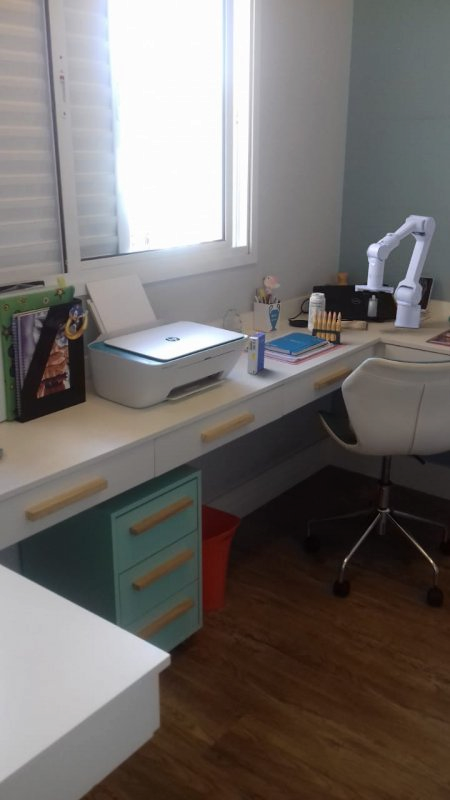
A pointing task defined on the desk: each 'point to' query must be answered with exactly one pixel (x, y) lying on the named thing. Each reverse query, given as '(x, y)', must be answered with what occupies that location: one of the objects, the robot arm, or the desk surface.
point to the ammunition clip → (329, 331)
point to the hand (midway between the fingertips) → (372, 310)
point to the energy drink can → (316, 308)
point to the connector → (372, 306)
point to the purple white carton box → (256, 353)
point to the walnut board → (353, 325)
